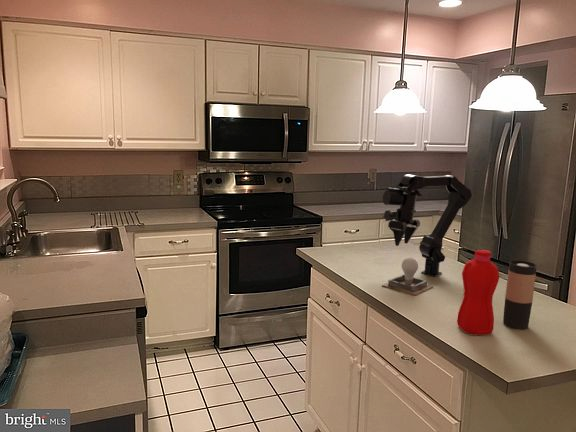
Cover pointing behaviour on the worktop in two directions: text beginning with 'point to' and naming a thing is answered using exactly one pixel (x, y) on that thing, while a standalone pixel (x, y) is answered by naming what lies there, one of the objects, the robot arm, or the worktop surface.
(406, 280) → the lightbulb
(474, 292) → the water bottle
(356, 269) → the worktop surface
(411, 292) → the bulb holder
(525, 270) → the travel mug
